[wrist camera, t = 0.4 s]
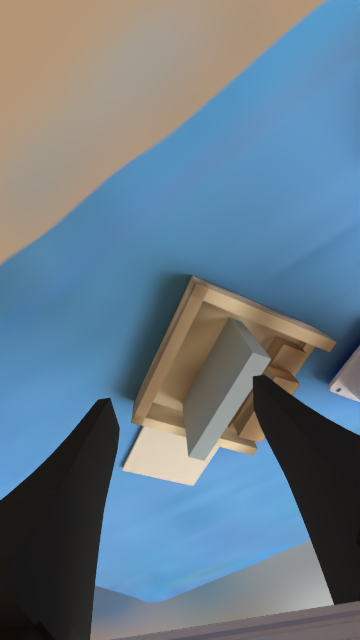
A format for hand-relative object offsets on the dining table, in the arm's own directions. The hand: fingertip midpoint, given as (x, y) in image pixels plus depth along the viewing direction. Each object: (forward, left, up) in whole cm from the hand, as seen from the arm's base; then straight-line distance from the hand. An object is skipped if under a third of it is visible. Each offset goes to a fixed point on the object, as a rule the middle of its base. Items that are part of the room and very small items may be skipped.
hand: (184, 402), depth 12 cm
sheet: (-5, +3, -10) cm, 11 cm away
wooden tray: (-6, +3, -10) cm, 12 cm away
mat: (-6, +15, -10) cm, 19 cm away
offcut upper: (-10, +3, -8) cm, 13 cm away
